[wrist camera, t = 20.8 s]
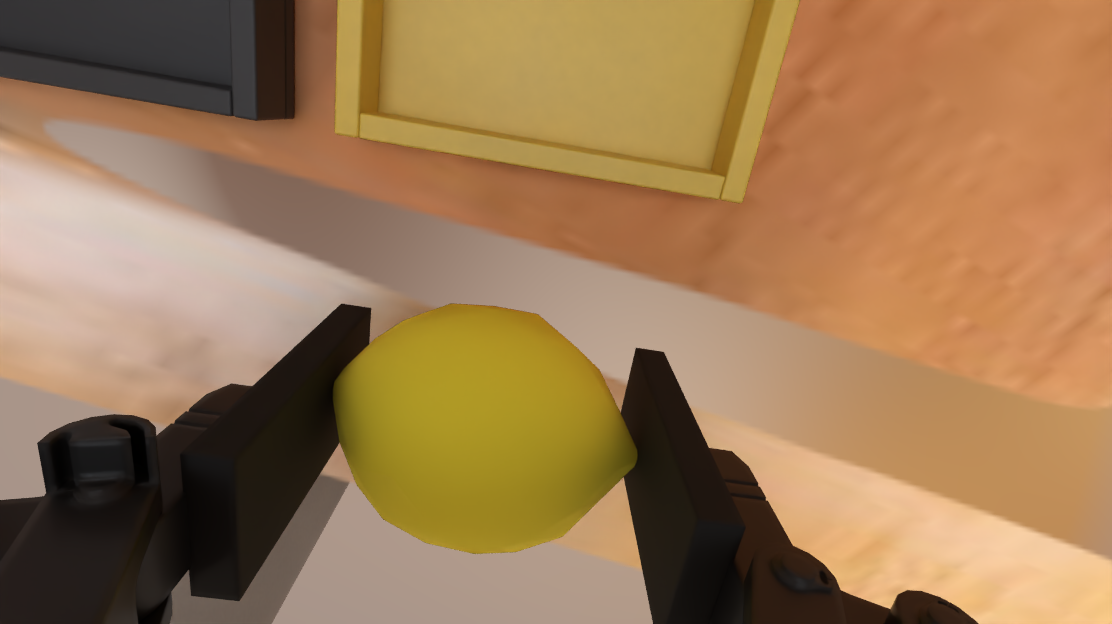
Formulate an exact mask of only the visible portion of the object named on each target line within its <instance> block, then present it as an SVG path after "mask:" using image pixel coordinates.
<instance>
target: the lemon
mask: <svg viewBox="0 0 1112 624" xmlns="http://www.w3.org/2000/svg"><path fill="white" fill-rule="evenodd" d="M333 404H334V411H335V417H336V424H337V430H338V436H339V442H340V444H341V447H342V449H343V452H344V454H345V457H346V459H347V462H348V464H349V467H350V469H351V472H352V474H353V477H354V479H355V482H356V484H357V486H358V487H359V489H360V490H361V491H362V492H363V494H364V495H365V496H366V498H367V499H368V500H369V502H370V503H371V504H372V505H373V507H374V508H375V509H376V511H377V512H378V513H379V515H380V516H381V517H382V518H383V520H385V521H387V522H389V523H391V524H393V525H395V526H396V527H398V528H400V529H401V530H403V531H405V532H407V533H409V534H411V535H412V536H414V537H416V538H418V539H420V540H421V541H423V542H425V543H428V544H433V545H437V546H442V547H446V548H450V549H455V550H459V551H464V552H469V553H473V554H482V553H505V552H517V551H521V550H524V549H527V548H530V547H533V546H536V545H539V544H542V543H545V542H548V541H551V540H554V539H557V538H560V537H562V536H564V535H565V534H566V533H567V532H568V531H569V530H570V529H571V528H572V527H573V526H574V525H575V524H576V523H577V522H578V521H579V520H580V519H581V518H582V517H583V516H584V515H585V514H586V513H587V512H588V511H589V510H590V509H591V508H592V507H593V506H594V505H595V504H596V503H597V502H598V501H599V500H600V499H601V498H602V497H603V496H604V495H605V494H607V493H608V492H609V491H610V490H611V489H612V488H613V487H614V486H615V485H616V484H617V483H618V482H619V481H620V480H621V479H622V478H623V477H624V476H625V475H626V474H627V473H628V472H629V471H630V470H631V469H632V468H633V467H634V466H635V464H636V462H637V456H638V454H637V448H636V446H635V444H634V442H633V440H632V437H631V435H630V433H629V431H628V429H627V426H626V424H625V422H624V420H623V418H622V415H621V413H620V411H619V409H618V407H617V405H616V403H615V401H614V399H613V397H612V394H611V392H610V390H609V388H608V386H607V384H606V382H605V380H604V378H603V376H602V374H601V372H600V370H599V369H598V368H597V367H596V366H595V365H594V364H593V363H592V362H591V361H590V360H589V359H587V357H586V356H585V355H584V354H583V353H582V352H581V351H580V350H579V349H577V347H575V346H574V345H573V344H572V343H571V342H570V341H568V340H567V339H566V338H565V337H564V336H563V335H562V334H560V333H559V332H558V331H557V330H556V329H555V328H553V327H552V326H551V325H550V324H549V323H547V322H546V321H545V320H544V319H543V318H541V317H540V316H539V315H538V314H534V313H529V312H524V311H518V310H513V309H507V308H502V307H496V306H485V305H468V304H448V305H445V306H443V307H440V308H437V309H434V310H431V311H428V312H425V313H422V314H419V315H417V316H414V317H412V318H409V319H406V320H404V321H402V322H400V323H399V324H397V325H396V326H394V327H393V328H391V329H389V330H388V331H386V332H385V333H383V334H382V335H380V336H378V337H377V338H375V339H374V340H373V341H372V342H371V343H370V344H369V345H368V346H367V347H366V348H365V349H364V350H363V351H362V352H361V353H360V354H358V355H357V356H356V357H355V358H354V359H353V360H352V361H351V362H350V363H349V364H348V365H347V366H346V367H345V368H344V369H343V370H342V372H341V373H340V374H339V376H338V377H337V379H336V380H335V382H334V386H333Z"/></svg>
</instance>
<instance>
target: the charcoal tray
mask: <svg viewBox="0 0 1112 624" xmlns="http://www.w3.org/2000/svg"><path fill="white" fill-rule="evenodd" d="M0 77H4V78H10V79H16V80H22V81H28V82H34V83H39V84H45V85H51V86H57V87H63V88H69V89H74V90H80V91H86V92H92V93H98V94H104V95H109V96H115V97H121V98H127V99H133V100H139V101H144V102H150V103H156V104H162V105H168V106H174V107H179V108H185V109H191V110H197V111H203V112H209V113H214V114H220V115H226V116H235V117H238V118H244V119H249V120H255V121H257V120H276V119H293V117H294V0H0Z"/></svg>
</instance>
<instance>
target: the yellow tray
mask: <svg viewBox="0 0 1112 624" xmlns="http://www.w3.org/2000/svg"><path fill="white" fill-rule="evenodd" d="M799 2H800V0H338V1H337V44H336V87H335V130H334V131H335V133H336V134H337V135H343V136H349V137H355V138H358V137H360V138H361V139H366V140H372V141H377V142H383V143H389V144H395V145H401V146H407V147H412V148H418V149H424V150H430V151H436V152H442V153H447V154H453V155H459V156H465V157H471V158H477V159H482V160H488V161H494V162H500V163H506V164H512V165H517V166H523V167H529V168H535V169H541V170H547V171H552V172H558V173H564V174H570V175H576V176H582V177H587V178H593V179H599V180H605V181H611V182H617V183H622V184H628V185H634V186H640V187H646V188H652V189H657V190H663V191H669V192H675V193H681V194H687V195H692V196H698V197H704V198H710V199H716V200H718V199H720V200H722V201H728V202H734V203H742V202H743V199H744V196H745V192H746V189H747V185H748V182H749V178H750V175H751V171H752V168H753V164H754V160H755V157H756V153H757V150H758V146H759V143H760V139H761V136H762V132H763V129H764V125H765V122H766V118H767V115H768V111H769V108H770V104H771V101H772V97H773V94H774V90H775V87H776V83H777V80H778V76H779V73H780V69H781V66H782V62H783V59H784V55H785V52H786V48H787V45H788V41H789V38H790V34H791V31H792V27H793V24H794V20H795V17H796V13H797V10H798V6H799Z"/></svg>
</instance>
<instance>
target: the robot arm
mask: <svg viewBox="0 0 1112 624" xmlns="http://www.w3.org/2000/svg"><path fill="white" fill-rule="evenodd" d="M370 321H371V308H367V307H361V306H354V305H347V304H341V305H339V306H338V307H337V308H336V309H335V310H334V311H333V312H332V313H331V314H330V315H329V316H328V317H327V318H325V319H324V320H323V321H322V322H321V323H320V324H319V325H318V326H317V327H316V328H315V329H314V330H313V331H311V332H310V333H309V334H308V335H307V336H306V337H305V338H304V339H303V340H302V341H301V342H300V343H299V344H297V345H296V346H295V347H294V348H293V349H292V350H291V351H290V352H289V353H288V354H287V355H286V356H285V357H283V358H282V359H281V360H280V361H279V362H278V363H277V364H276V365H275V366H274V367H273V368H272V369H271V370H269V371H268V372H267V373H266V374H265V375H264V376H263V377H262V378H261V379H260V380H259V381H258V382H257V383H255V384H254V385H253V386H246V385H238V384H229V385H227V386H225V387H222V388H220V389H218V390H215V391H213V392H211V393H208V394H206V395H205V396H204V397H203V398H202V399H200V400H199V401H198V402H197V403H195V404H194V405H193V406H192V407H191V408H189V412H187V411H186V412H185V413H183V414H182V415H181V416H180V417H179V418H177V419H176V420H175V423H174V424H172V423H171V424H170V425H169V426H168V427H166V428H165V429H164V430H163V431H162V432H160V433H159V434H158V435H157V436H156V427H155V426H154V425H153V424H152V423H151V422H150V421H149V420H147V419H144V418H140V417H137V416H134V415H115V414H113V415H105V416H97V417H90V418H87V419H83V420H80V421H76V422H72V423H69V424H67V425H65V426H63V427H61V428H58V429H56V430H54V431H52V432H50V433H49V434H48V435H46V436H45V437H44V438H43V439H42V440H40V441H39V442H38V443H37V444H38V450H39V455H40V461H41V466H42V472H43V477H44V482H45V488H46V494H45V496H42V497H35V498H21V499H9V500H0V624H169V623H170V620H171V616H172V595H171V591H172V590H173V589H174V587H175V586H176V585H177V584H178V582H179V581H180V580H181V578H182V577H183V576H184V575H185V573H186V572H187V571H188V570H189V575H190V587H191V596H198V597H207V598H216V599H225V600H234V601H240V599H241V598H242V596H243V595H244V593H245V591H246V590H247V588H248V587H249V585H250V583H251V582H252V580H253V579H254V577H255V576H256V574H257V572H258V571H259V569H260V568H261V566H262V565H263V563H264V561H265V560H266V558H267V557H268V555H269V553H270V552H271V550H272V549H273V547H274V546H275V544H276V542H277V541H278V539H279V538H280V536H281V534H282V533H283V531H284V530H285V528H286V527H287V525H288V523H289V522H290V520H291V519H292V517H293V515H294V514H295V512H296V511H297V509H298V508H299V506H300V504H301V503H302V501H303V500H304V498H305V496H306V495H307V493H308V492H309V490H310V489H311V487H312V485H313V484H314V482H315V481H316V479H317V477H318V476H319V474H320V473H321V471H322V470H323V468H324V466H325V465H326V463H327V462H328V460H329V459H330V457H331V455H332V454H333V452H334V451H335V449H336V447H337V446H338V444H339V443H340V442H339V436H338V430H337V424H336V417H335V411H334V404H333V386H334V382H335V380H336V379H337V377H338V376H339V374H340V373H341V372H342V370H343V369H344V368H345V367H346V366H347V365H348V364H349V363H350V362H351V361H352V360H353V359H354V358H355V357H356V356H357V355H358V354H360V353H361V352H362V351H363V350H364V349H365V348H366V347H367V346H368V345H369V339H370ZM621 415H622V418H623V420H624V422H625V424H626V426H627V429H628V431H629V433H630V435H631V437H632V440H633V442H634V444H635V446H636V448H637V454H638V456H637V462H636V464H635V466H634V467H633V468H632V469H631V470H630V471H629V472H628V473H627V474H626V475H625V476H624V481H625V486H626V490H627V495H628V500H629V505H630V510H631V515H632V520H633V525H634V530H635V535H636V540H637V545H638V550H639V555H640V560H641V565H642V570H643V575H644V580H645V585H646V590H647V595H648V600H649V605H650V610H651V615H652V620H653V624H978V623H977V622H976V621H975V620H974V619H973V618H971V617H970V616H969V615H967V614H966V613H965V612H964V611H962V610H961V609H960V608H959V607H957V606H955V605H954V604H952V603H949V602H948V601H946V600H944V599H942V598H940V597H938V596H935V595H932V594H929V593H926V592H923V591H910V590H907V591H905V592H903V593H900V594H898V595H897V597H896V599H895V601H894V603H893V605H892V607H891V609H888V608H885V607H882V606H880V605H877V604H874V603H872V602H869V601H866V600H863V599H861V598H858V597H855V596H853V595H850V594H848V593H846V592H843V591H841V590H840V588H839V585H838V583H837V581H836V578H835V577H834V575H833V574H832V573H831V572H830V571H829V570H828V568H827V567H826V566H825V565H824V564H823V563H821V562H820V561H819V560H817V559H816V558H815V557H813V556H812V555H811V554H809V553H807V552H805V551H803V550H801V549H799V548H797V547H795V546H793V545H792V543H791V542H790V540H789V538H788V536H787V534H786V533H785V531H784V529H783V527H782V525H781V524H780V522H779V520H778V518H777V516H776V515H775V513H774V511H773V509H772V507H771V506H770V504H769V502H768V501H766V497H765V495H764V493H763V491H762V489H761V488H760V487H758V482H757V481H756V479H755V477H754V475H753V473H752V472H751V470H750V468H749V467H748V466H747V465H746V464H745V463H744V462H743V461H742V460H741V459H740V458H739V457H738V456H736V455H735V454H734V453H733V452H732V451H726V450H719V449H712V448H709V447H708V445H707V443H706V441H705V439H704V437H703V435H702V432H701V430H700V428H699V426H698V424H697V422H696V420H695V417H694V415H693V413H692V411H691V409H690V407H689V405H688V403H687V400H686V399H685V396H684V394H683V392H682V390H681V388H680V386H679V383H678V381H677V379H676V377H675V375H674V373H673V371H672V369H671V366H670V364H669V362H668V360H667V358H666V356H665V354H664V352H660V351H654V350H647V349H641V348H636V350H635V354H634V358H633V363H632V367H631V371H630V375H629V380H628V384H627V388H626V392H625V397H624V401H623V405H622V409H621Z"/></svg>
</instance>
